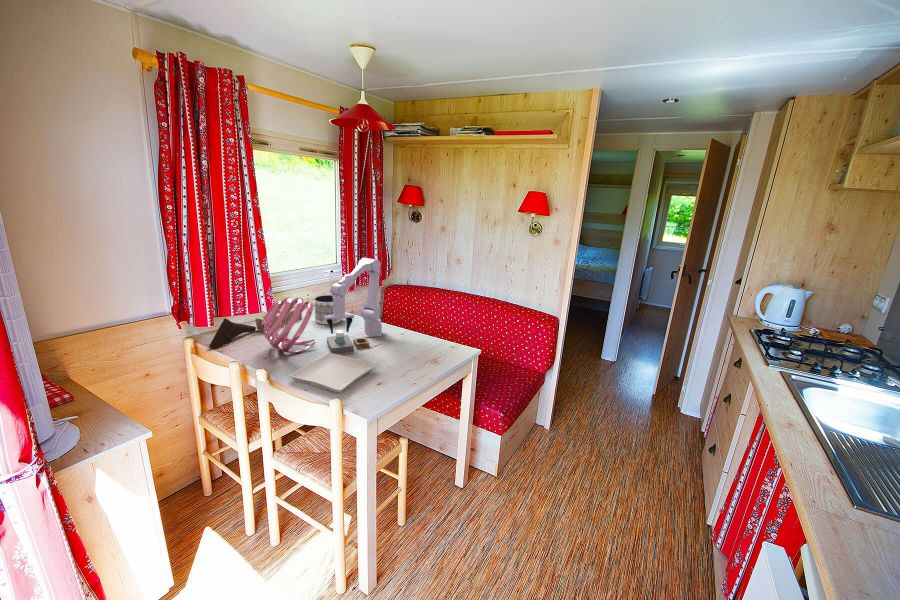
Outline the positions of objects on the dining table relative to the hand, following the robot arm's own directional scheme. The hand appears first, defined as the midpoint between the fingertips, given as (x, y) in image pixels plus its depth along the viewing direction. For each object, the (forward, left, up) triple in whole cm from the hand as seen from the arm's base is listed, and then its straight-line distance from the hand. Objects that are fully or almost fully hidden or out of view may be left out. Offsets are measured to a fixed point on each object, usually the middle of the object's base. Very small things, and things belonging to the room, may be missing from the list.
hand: (339, 332), depth 196 cm
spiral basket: (+24, -6, -9) cm, 26 cm away
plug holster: (-11, 0, -8) cm, 14 cm away
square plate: (+8, +31, -9) cm, 33 cm away
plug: (0, 0, -8) cm, 8 cm away
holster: (+50, -27, -9) cm, 57 cm away
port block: (0, 0, -8) cm, 8 cm away
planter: (0, -45, -9) cm, 46 cm away
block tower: (+27, -46, -9) cm, 54 cm away
